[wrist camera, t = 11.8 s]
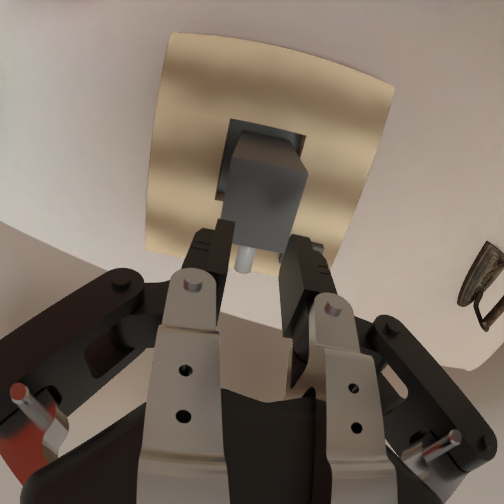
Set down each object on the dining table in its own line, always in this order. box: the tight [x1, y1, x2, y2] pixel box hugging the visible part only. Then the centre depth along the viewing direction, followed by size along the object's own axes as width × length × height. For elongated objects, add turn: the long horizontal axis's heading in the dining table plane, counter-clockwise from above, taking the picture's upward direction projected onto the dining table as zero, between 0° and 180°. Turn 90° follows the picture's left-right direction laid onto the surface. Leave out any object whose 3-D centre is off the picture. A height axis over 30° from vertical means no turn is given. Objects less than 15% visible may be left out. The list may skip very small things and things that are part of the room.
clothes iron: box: [457, 241, 504, 332], centre depth 29 cm, size 7×11×10 cm, turn 161°
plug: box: [220, 130, 309, 274], centre depth 20 cm, size 8×4×10 cm, turn 168°
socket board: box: [145, 33, 395, 276], centre depth 23 cm, size 20×18×4 cm
